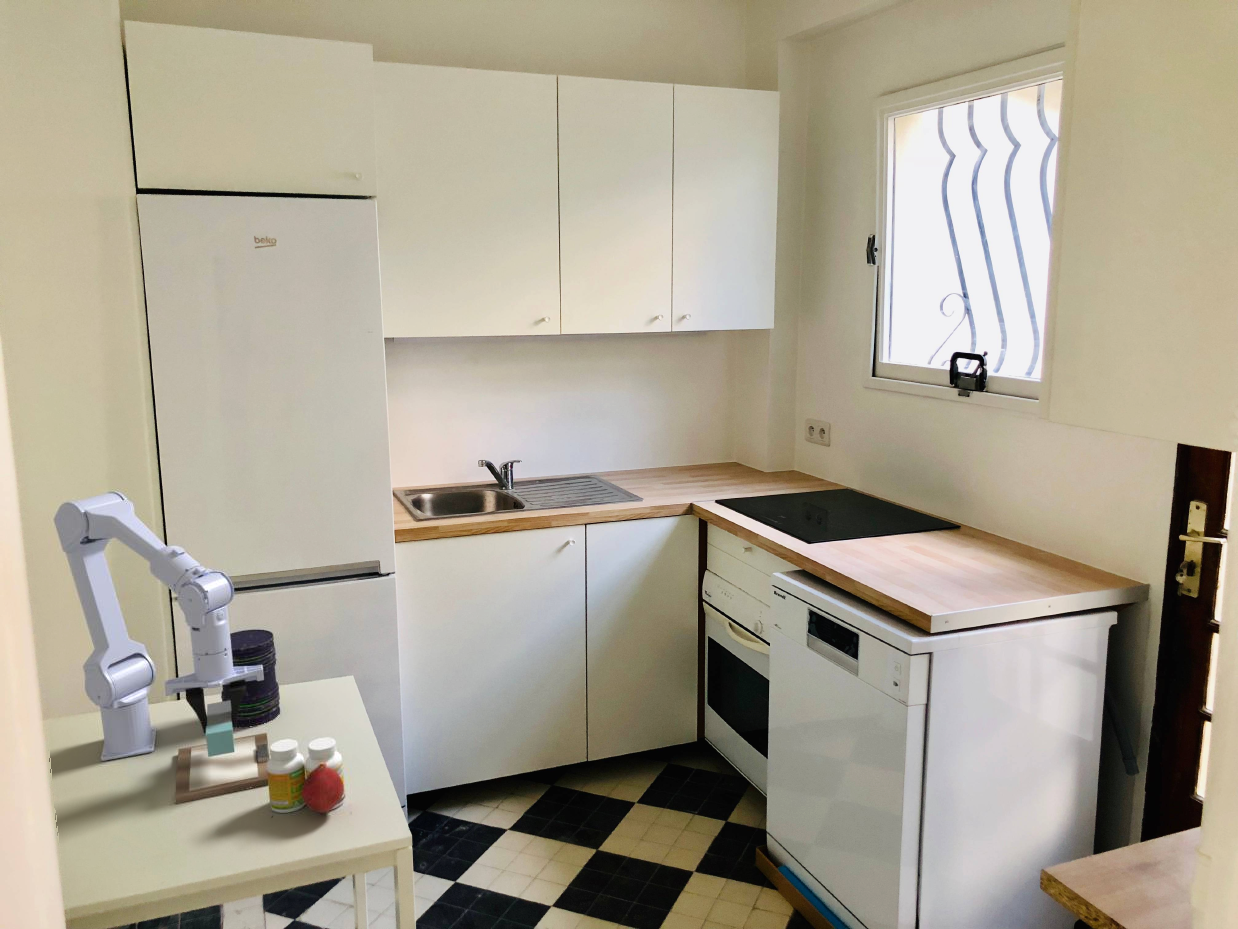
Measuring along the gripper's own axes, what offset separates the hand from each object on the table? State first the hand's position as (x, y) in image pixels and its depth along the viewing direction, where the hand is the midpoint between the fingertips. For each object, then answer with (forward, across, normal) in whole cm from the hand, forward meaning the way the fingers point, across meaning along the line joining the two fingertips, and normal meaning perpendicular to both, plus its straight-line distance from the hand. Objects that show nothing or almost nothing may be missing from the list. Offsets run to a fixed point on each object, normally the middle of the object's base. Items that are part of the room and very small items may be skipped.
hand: (220, 728), depth 154 cm
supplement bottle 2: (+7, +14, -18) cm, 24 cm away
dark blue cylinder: (+7, +5, +19) cm, 21 cm away
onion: (+7, +14, -21) cm, 26 cm away
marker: (+2, 0, 0) cm, 2 cm away
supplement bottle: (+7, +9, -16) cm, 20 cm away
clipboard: (+7, 0, 0) cm, 7 cm away
